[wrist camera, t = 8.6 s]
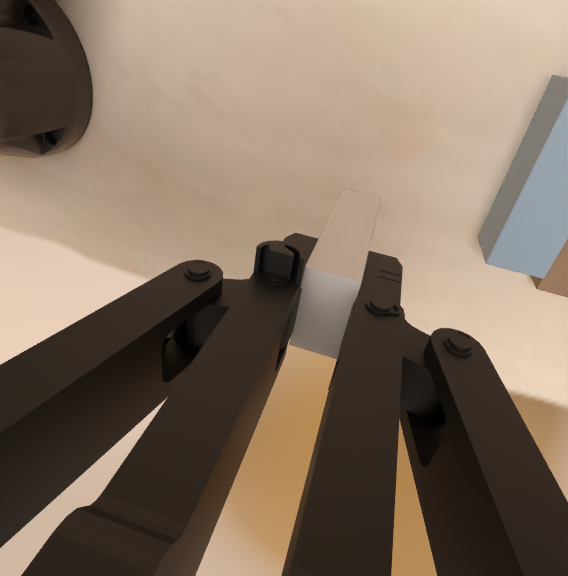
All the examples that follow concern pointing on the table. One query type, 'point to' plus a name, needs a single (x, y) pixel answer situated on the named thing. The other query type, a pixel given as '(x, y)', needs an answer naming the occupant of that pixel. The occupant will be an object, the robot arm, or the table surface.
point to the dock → (556, 275)
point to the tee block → (533, 193)
